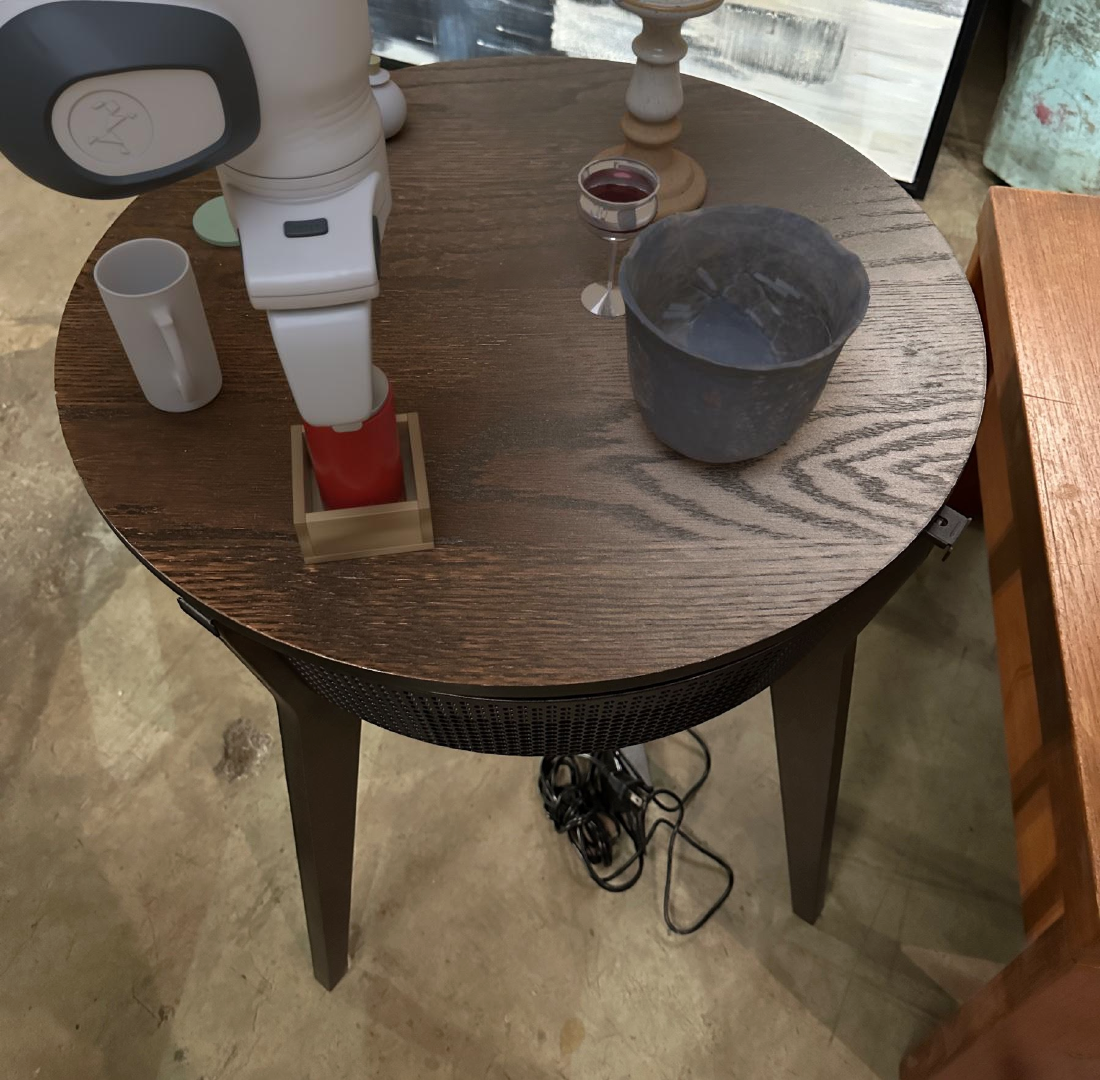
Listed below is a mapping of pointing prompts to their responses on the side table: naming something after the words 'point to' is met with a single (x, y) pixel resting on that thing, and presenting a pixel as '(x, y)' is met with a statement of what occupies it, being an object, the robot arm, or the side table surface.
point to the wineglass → (615, 217)
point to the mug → (160, 322)
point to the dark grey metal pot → (736, 325)
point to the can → (360, 456)
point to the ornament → (387, 98)
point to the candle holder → (661, 102)
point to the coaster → (215, 224)
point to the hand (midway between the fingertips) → (343, 370)
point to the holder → (368, 525)
